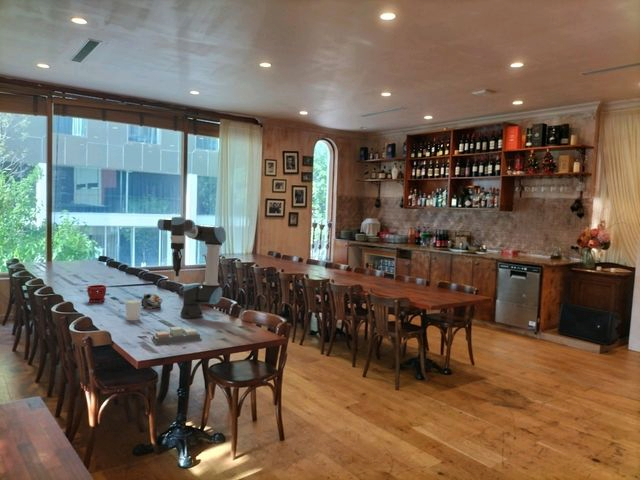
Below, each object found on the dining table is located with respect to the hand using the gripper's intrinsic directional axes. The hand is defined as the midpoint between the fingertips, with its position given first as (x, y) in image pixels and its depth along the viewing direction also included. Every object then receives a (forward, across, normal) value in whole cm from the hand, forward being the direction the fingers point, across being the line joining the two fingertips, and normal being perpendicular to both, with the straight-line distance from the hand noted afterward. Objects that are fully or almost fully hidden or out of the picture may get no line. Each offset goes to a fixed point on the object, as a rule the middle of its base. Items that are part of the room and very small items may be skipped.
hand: (176, 281), depth 294 cm
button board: (+32, +12, -2) cm, 35 cm away
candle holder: (+33, -47, -16) cm, 59 cm away
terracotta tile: (+32, +12, -10) cm, 35 cm away
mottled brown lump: (+33, -78, +3) cm, 85 cm away
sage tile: (+30, +12, -2) cm, 32 cm away
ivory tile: (+32, +12, +6) cm, 34 cm away
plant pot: (+33, -113, -32) cm, 122 cm away
